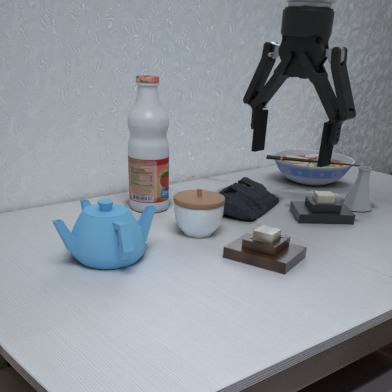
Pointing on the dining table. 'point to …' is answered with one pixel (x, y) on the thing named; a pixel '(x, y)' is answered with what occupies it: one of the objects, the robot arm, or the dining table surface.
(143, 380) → the dining table surface
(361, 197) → the flask
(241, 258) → the block
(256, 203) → the dark slate chunk
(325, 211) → the block
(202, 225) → the trinket box
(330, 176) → the ramen bowl
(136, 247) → the teapot
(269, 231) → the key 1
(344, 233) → the dining table surface
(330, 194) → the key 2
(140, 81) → the fruit juice
